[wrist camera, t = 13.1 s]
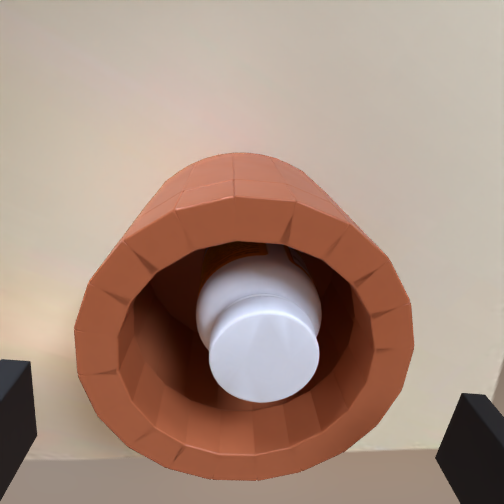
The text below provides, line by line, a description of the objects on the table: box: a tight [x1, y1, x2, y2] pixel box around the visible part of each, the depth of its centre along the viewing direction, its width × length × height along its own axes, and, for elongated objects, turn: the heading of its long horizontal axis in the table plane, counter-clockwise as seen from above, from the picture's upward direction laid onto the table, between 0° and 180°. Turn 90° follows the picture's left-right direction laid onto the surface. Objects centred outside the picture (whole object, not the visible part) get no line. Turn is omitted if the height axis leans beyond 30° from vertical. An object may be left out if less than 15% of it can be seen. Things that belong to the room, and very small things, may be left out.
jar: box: [74, 153, 414, 481], centre depth 19 cm, size 12×12×10 cm
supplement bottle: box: [196, 241, 322, 403], centre depth 19 cm, size 5×5×10 cm
